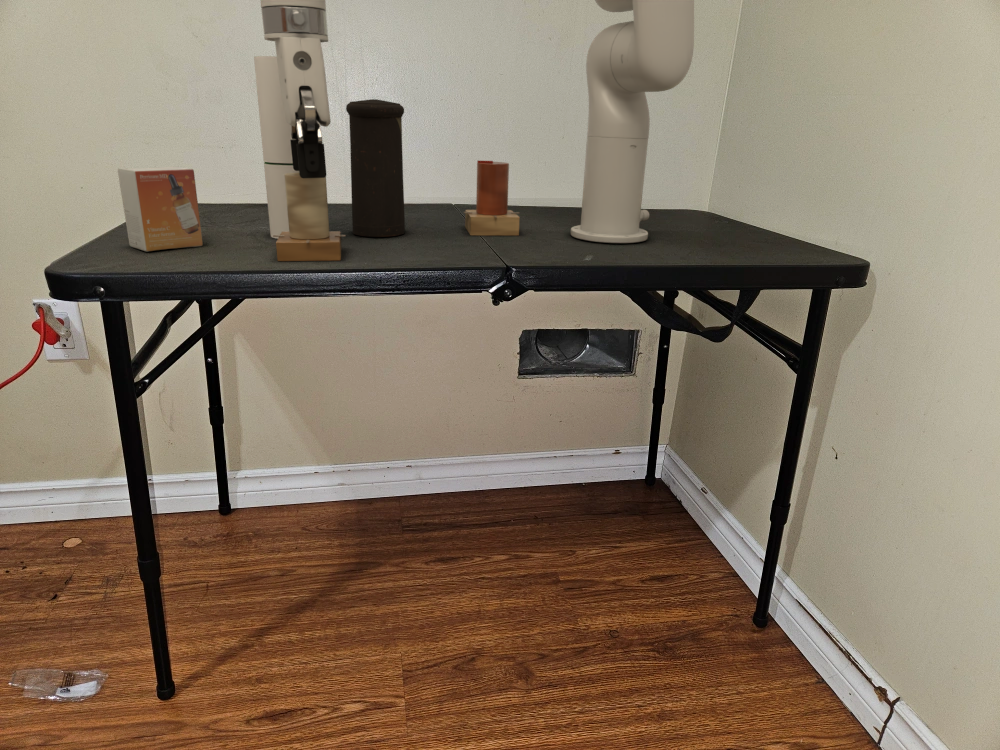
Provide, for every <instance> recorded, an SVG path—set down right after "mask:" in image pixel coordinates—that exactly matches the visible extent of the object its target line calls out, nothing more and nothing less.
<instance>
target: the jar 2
mask: <svg viewBox="0 0 1000 750" xmlns="http://www.w3.org/2000/svg"><path fill="white" fill-rule="evenodd" d="M509 178H510V163H509V162H503V161H493V160H479V159H478V160H477V161H476V197H475V198H476V202H475V203H476V204H475V205H476V206H475V210H476V213H478V214H483V215H505V214H507V211H508V210H509V180H510V179H509Z"/></svg>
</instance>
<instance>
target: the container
mask: <svg viewBox="0 0 1000 750" xmlns="http://www.w3.org/2000/svg"><path fill="white" fill-rule="evenodd" d="M345 110H346V113H347V114H348V119H349V122H348V123H349V140H350V141H349V143H350V144H349V145H350V149H349V151H350V183H351V184H350V187H351V224H352V234H353V235H356V236H360V237H367V238H368V237H369V238H388V237H389V238H390V237H398V236H401V235H403V234H405V232H406V218H405V193H404V191H405V190H404V189H405V188H404V163H403V161H404V159H403V124H402V123H403V122H402V121H403V120H402V119H403V115H404V113H405V108H404V106H403V105H401V104H400V103H399V102H392V101H388V100H382V99H378V98H377V99H375V98H373V99H372V98H371V99H363V100H355V101H349V102H348V103H347V104H346V107H345Z"/></svg>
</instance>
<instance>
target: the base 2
mask: <svg viewBox="0 0 1000 750" xmlns="http://www.w3.org/2000/svg"><path fill="white" fill-rule="evenodd" d="M463 214H465V215H464V216H465V217H464V220H465V221H464V223H465V224H464V228H465V229H466V231H467V232H468V234H469V235H470V237H471V236H472V237H473V236H477V237H478V236H482V237H483V236H487V237H488V236H492V237H494V236H495V237H496V236H499V237H501V236H503V237H505V236H509V237H510V236H511V237H515V236H518V237H519V236H520V219H521V218H520V216H519V214H520V211H519V212H517V211H516V212H515V211H513V210H512V209H508V211H507V214H505V215H483V214H478V213H476V209H465V211H463Z"/></svg>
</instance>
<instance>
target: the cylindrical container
mask: <svg viewBox="0 0 1000 750" xmlns="http://www.w3.org/2000/svg"><path fill="white" fill-rule="evenodd" d="M253 61H254V72H255V82H256V83H255V84H256V92H257V93H256V94H257V102H258V103H257V105H258V115H259V125H260V138H261V148H262V158H263V162H264V163H263V168H264V169H263V170H264V180H265V190H266V201H267V213H268V223H269V233H270V234H269V235H270V238H273V239H277V240H278V238H279V237H273V235H280V234H281V232H289V223H288V211H287V199H286V187H285V174H287V173H299V171H295V170H294V169H293V161H292V151H291V141H290V140H292V137H291V125H290V124H288V123H287V122H286V118H285V113H284V108H283V102H282V96H281V89H280V81H279V73H278V64H277V55H276V56H275V55H274V56H273V55H272V56H271V55H269V56H268V55H258V56H257V55H256V56H253ZM294 140H296V139H294Z"/></svg>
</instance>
